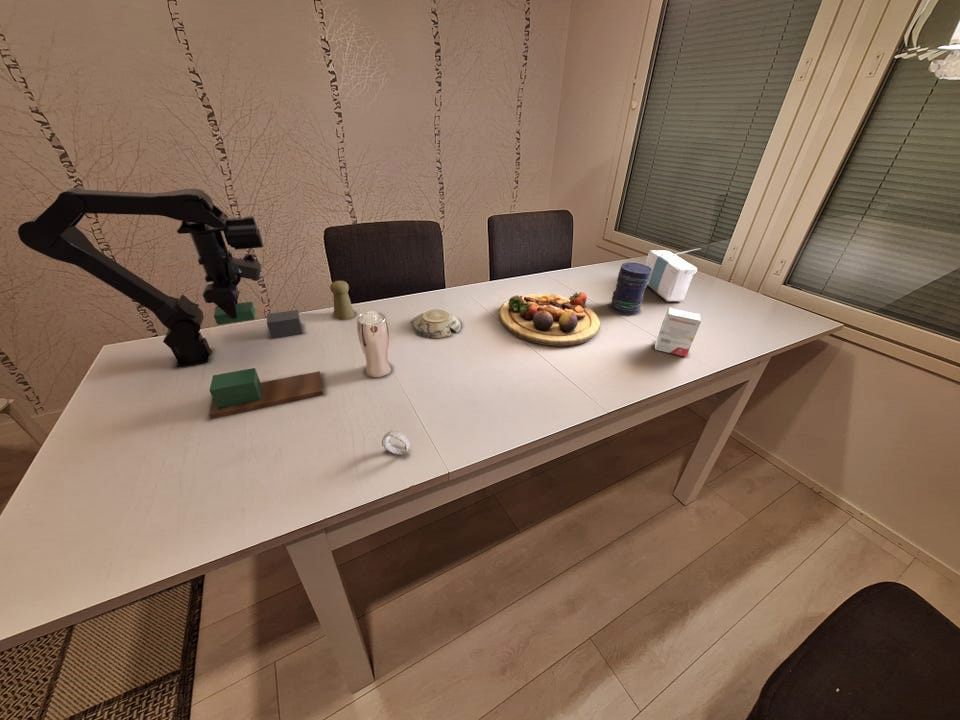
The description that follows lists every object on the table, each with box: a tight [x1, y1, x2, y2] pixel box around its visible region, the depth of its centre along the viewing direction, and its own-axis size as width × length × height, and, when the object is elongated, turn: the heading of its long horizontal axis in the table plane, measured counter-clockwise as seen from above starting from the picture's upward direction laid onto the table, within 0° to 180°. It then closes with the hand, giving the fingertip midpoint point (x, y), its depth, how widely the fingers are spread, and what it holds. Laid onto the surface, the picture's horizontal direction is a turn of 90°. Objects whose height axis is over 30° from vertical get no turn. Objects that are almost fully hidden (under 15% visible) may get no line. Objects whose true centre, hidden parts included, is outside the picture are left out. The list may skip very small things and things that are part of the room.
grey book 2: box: [268, 319, 304, 339], centre depth 106 cm, size 8×6×2 cm
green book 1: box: [208, 367, 259, 400], centre depth 79 cm, size 8×6×2 cm
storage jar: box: [609, 262, 652, 316], centre depth 126 cm, size 10×10×15 cm
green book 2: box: [214, 376, 262, 409], centre depth 80 cm, size 8×6×2 cm
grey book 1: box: [266, 309, 301, 332], centre depth 104 cm, size 8×6×2 cm
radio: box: [644, 247, 702, 303], centre depth 138 cm, size 21×8×20 cm, turn 6°
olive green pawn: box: [329, 280, 355, 321], centre depth 113 cm, size 6×6×11 cm
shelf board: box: [208, 370, 324, 419], centre depth 83 cm, size 22×8×1 cm, turn 114°
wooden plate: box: [498, 291, 601, 347], centre depth 117 cm, size 32×32×8 cm
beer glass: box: [356, 310, 392, 378], centre depth 89 cm, size 7×7×15 cm
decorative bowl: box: [412, 308, 461, 339], centre depth 112 cm, size 15×4×15 cm
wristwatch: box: [381, 430, 411, 456], centre depth 70 cm, size 3×5×5 cm, turn 73°
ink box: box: [654, 307, 702, 357], centre depth 105 cm, size 9×5×12 cm, turn 65°
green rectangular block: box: [213, 301, 256, 326], centre depth 92 cm, size 8×6×2 cm
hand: (235, 313), depth 92 cm, fingers closed on green rectangular block, 5 cm apart
